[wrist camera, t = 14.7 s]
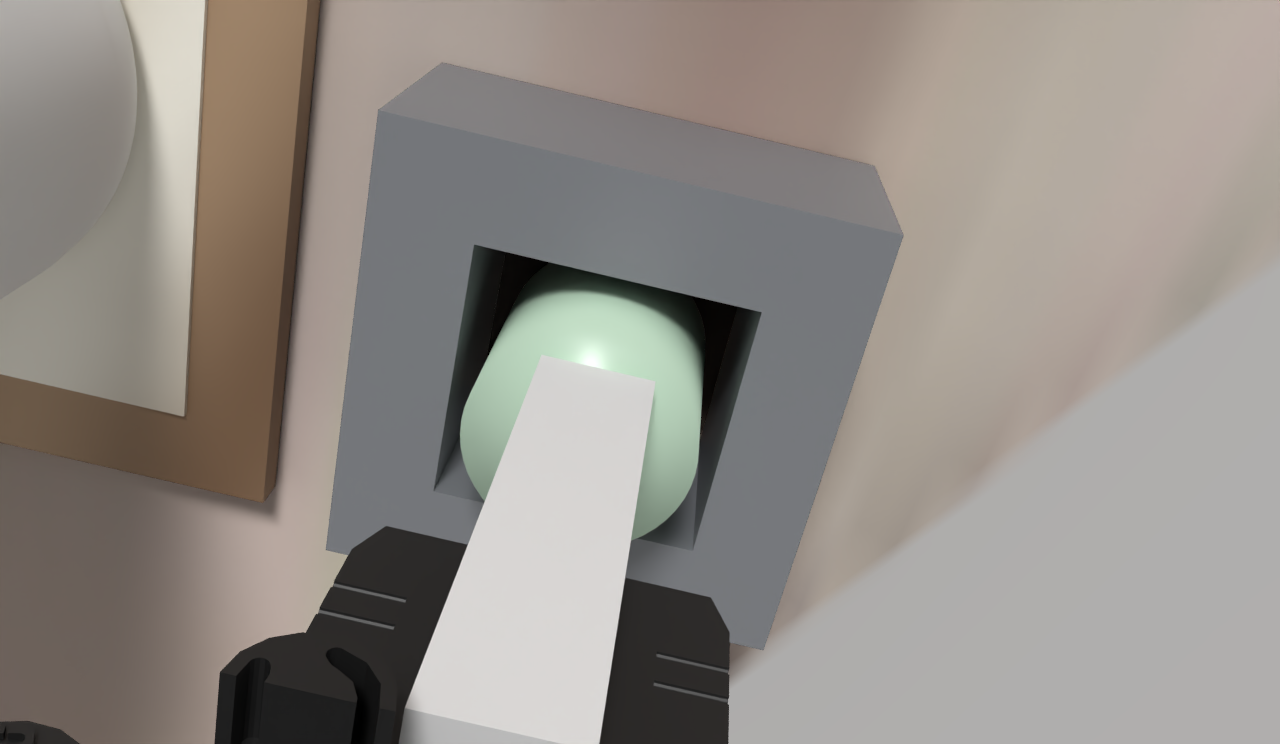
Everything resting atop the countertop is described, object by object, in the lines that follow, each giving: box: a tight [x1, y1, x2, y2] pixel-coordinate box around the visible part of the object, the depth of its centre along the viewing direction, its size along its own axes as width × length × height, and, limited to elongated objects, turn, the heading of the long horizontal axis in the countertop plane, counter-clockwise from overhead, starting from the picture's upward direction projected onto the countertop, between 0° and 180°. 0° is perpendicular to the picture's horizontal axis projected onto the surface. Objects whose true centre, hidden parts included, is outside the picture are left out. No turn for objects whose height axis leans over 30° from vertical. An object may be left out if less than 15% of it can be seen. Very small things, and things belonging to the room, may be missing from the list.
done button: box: [460, 262, 706, 540], centre depth 17 cm, size 3×3×4 cm
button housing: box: [326, 63, 903, 650], centre depth 18 cm, size 7×7×4 cm
